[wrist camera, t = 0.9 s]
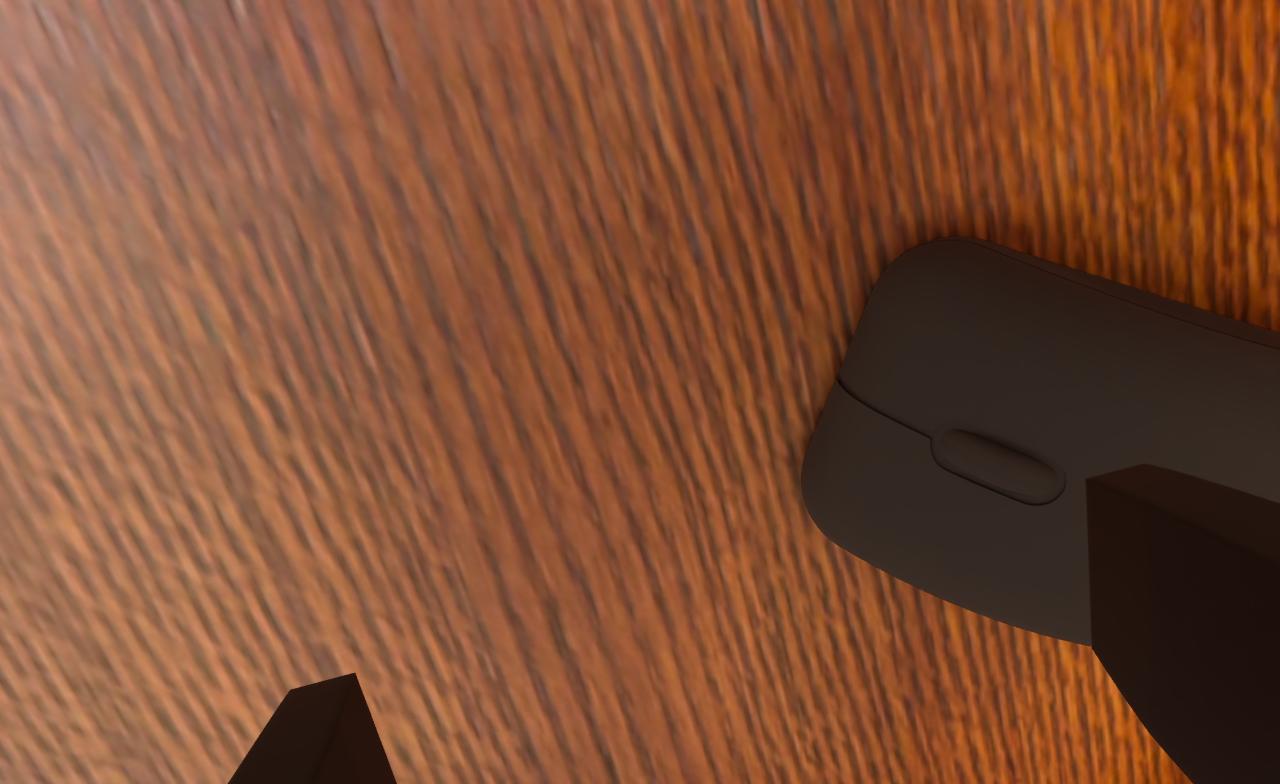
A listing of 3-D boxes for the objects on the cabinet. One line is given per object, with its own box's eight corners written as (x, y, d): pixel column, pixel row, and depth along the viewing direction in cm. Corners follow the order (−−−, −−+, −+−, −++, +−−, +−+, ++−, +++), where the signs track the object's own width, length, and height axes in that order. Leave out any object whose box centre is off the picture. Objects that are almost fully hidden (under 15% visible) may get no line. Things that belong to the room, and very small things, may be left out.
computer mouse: (891, 209, 20) (990, 271, 16) (1372, 360, 23) (1547, 442, 19) (770, 510, 22) (833, 625, 18) (1226, 615, 25) (1359, 732, 21)
